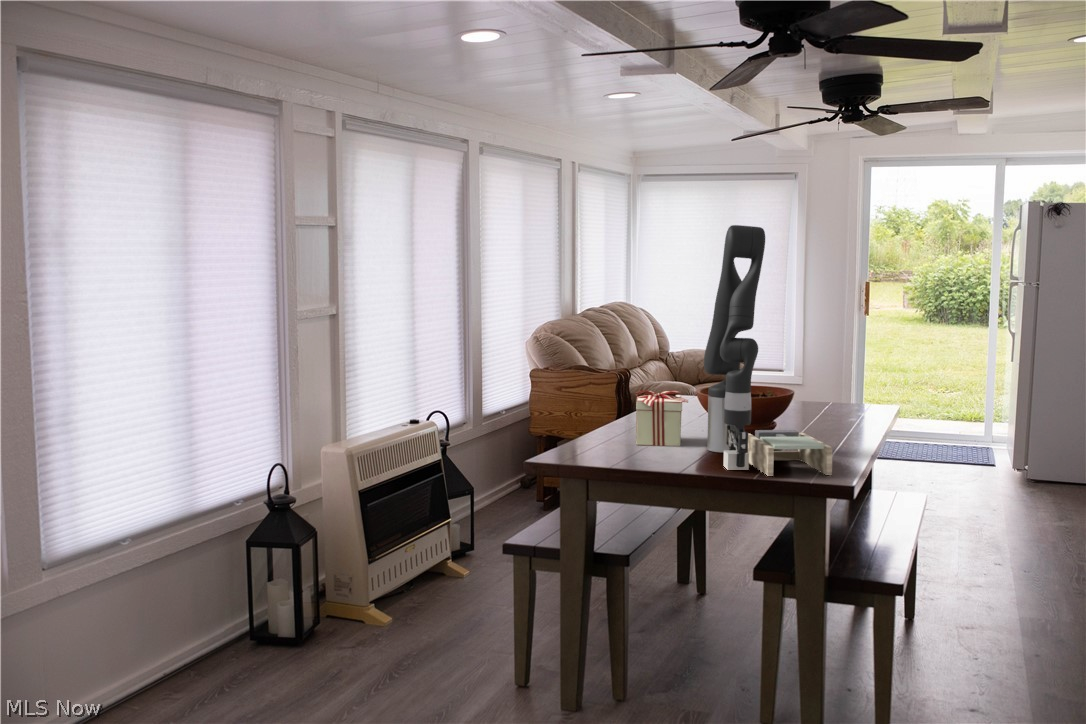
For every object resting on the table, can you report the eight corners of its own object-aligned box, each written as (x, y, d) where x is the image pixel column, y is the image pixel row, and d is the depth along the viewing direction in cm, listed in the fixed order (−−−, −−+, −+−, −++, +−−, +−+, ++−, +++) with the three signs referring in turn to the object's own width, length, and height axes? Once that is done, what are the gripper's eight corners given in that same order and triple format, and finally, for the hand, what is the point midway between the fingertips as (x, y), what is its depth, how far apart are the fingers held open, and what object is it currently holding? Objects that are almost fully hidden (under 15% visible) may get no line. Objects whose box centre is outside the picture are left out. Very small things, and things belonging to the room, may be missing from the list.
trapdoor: (751, 443, 284) (751, 430, 284) (797, 443, 285) (797, 429, 284) (774, 458, 262) (774, 443, 261) (823, 457, 263) (824, 443, 262)
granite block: (723, 467, 274) (723, 450, 273) (743, 467, 274) (744, 450, 274) (727, 471, 269) (728, 453, 268) (748, 470, 269) (749, 453, 269)
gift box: (636, 447, 304) (637, 394, 302) (632, 437, 322) (633, 387, 320) (689, 448, 303) (690, 395, 301) (683, 438, 321) (684, 387, 320)
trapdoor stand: (744, 459, 285) (744, 433, 284) (802, 459, 286) (803, 432, 285) (767, 476, 261) (768, 448, 260) (831, 476, 262) (832, 447, 261)
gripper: (758, 411, 263) (756, 469, 264) (743, 404, 277) (742, 459, 279) (731, 411, 262) (730, 469, 264) (718, 404, 277) (717, 459, 278)
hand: (736, 464), depth 271 cm, fingers open, 7 cm apart
